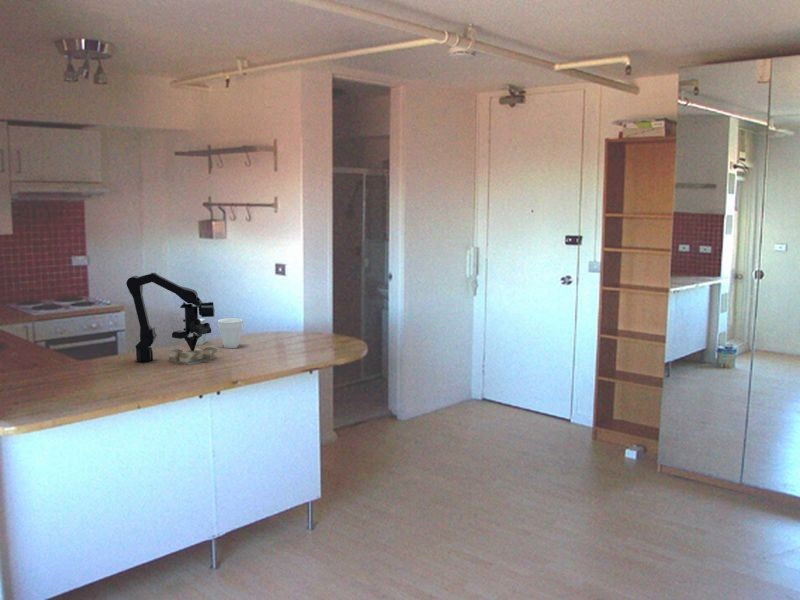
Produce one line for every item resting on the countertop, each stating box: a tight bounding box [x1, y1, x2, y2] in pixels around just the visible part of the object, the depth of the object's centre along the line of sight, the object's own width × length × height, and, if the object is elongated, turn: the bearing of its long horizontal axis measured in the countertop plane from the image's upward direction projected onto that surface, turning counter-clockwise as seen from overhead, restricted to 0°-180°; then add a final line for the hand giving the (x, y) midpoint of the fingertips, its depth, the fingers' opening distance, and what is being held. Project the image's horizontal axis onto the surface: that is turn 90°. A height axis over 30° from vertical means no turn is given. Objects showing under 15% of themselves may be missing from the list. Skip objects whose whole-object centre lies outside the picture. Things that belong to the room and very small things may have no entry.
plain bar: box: [179, 347, 204, 362], centre depth 337 cm, size 12×4×4 cm, turn 147°
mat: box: [172, 358, 217, 366], centre depth 338 cm, size 17×14×1 cm
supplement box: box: [189, 318, 207, 346], centre depth 375 cm, size 7×7×13 cm
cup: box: [217, 317, 244, 349], centre depth 367 cm, size 12×12×14 cm
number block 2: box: [202, 346, 219, 361], centre depth 340 cm, size 4×4×5 cm
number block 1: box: [168, 348, 184, 363], centre depth 336 cm, size 4×4×5 cm
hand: (192, 350), depth 337 cm, fingers closed
